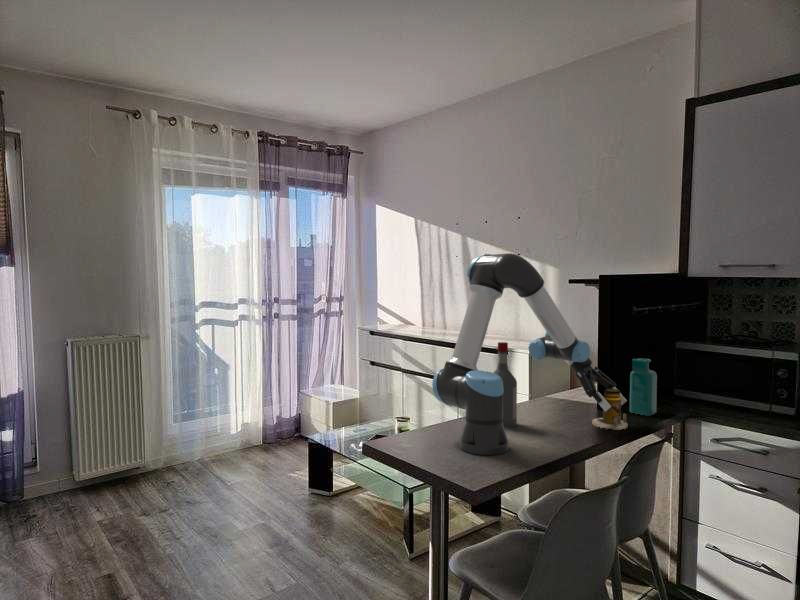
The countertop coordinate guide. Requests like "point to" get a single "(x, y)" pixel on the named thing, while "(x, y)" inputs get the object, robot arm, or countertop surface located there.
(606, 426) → the flange base
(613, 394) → the condiment
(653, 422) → the countertop surface
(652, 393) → the teal bottle
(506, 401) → the liquor
